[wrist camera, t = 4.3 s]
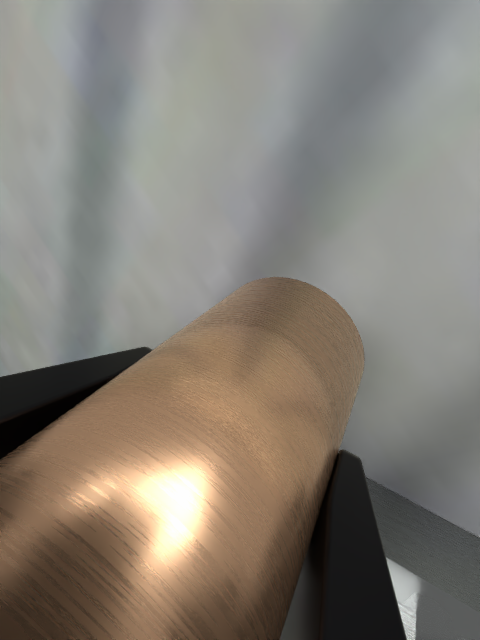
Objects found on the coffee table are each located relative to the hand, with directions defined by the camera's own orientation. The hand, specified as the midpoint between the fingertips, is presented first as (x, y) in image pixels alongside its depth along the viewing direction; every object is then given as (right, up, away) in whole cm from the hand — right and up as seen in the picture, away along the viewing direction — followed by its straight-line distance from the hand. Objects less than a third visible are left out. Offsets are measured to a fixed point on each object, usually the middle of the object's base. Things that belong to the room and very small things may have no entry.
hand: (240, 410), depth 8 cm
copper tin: (+1, +1, +2) cm, 3 cm away
